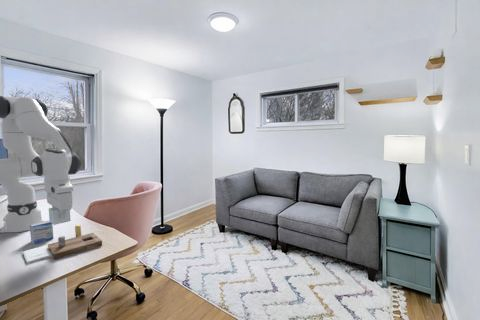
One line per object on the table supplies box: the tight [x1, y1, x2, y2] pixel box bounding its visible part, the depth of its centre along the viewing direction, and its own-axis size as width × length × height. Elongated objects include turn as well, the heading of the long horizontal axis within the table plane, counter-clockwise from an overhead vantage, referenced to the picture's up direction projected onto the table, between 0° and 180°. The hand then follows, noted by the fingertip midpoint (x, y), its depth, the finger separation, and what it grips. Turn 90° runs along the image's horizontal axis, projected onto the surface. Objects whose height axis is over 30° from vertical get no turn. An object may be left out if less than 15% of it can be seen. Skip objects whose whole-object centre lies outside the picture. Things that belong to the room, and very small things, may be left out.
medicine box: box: [29, 220, 54, 245], centre depth 117 cm, size 8×4×9 cm, turn 143°
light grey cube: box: [48, 207, 72, 226], centre depth 106 cm, size 6×6×6 cm
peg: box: [74, 224, 82, 237], centre depth 121 cm, size 2×2×6 cm
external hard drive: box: [22, 245, 53, 265], centre depth 103 cm, size 2×8×12 cm
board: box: [47, 232, 103, 260], centre depth 110 cm, size 13×18×6 cm
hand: (59, 216), depth 106 cm, fingers closed on light grey cube, 6 cm apart
